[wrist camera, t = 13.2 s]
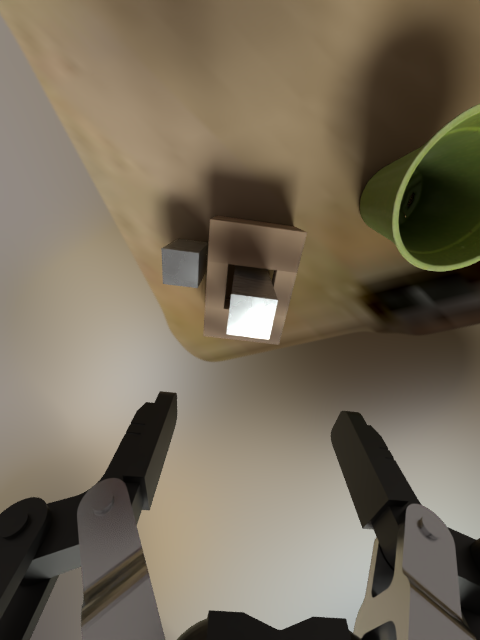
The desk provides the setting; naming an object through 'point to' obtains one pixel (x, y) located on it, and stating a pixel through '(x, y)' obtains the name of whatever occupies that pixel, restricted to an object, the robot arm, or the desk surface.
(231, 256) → the block with rectangular hole
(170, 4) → the desk surface
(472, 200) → the plant pot
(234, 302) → the tall pin
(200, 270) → the grey rectangular block
